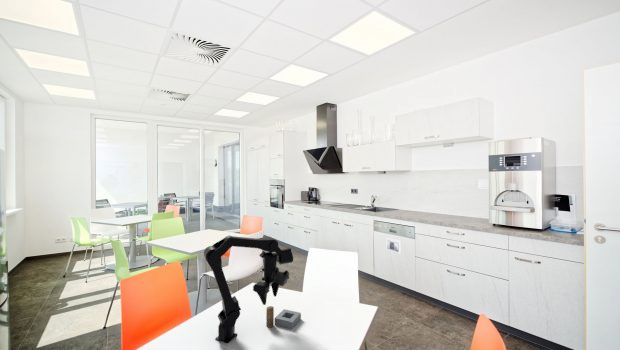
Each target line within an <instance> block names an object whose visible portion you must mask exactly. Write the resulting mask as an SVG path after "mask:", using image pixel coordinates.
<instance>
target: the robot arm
mask: <svg viewBox="0 0 620 350" xmlns="http://www.w3.org/2000/svg"><path fill="white" fill-rule="evenodd" d="M233 247H236V248H251V249H258V250H262V252H261V253H259V255H258V256H259V257H260V258H261V259H263V268H261V271H262V272H263V277H261V281H258V282H257V283H255V284H253V286H252V290H253V292H255V293H257V295H258V297H259V299H260V301H261V303H262V305H263V306H266V304H267V298H268V297H267V296H268V293H269V292H270V291H271V290H270V288H271V289H272V294H273V297H277V294H278V292H279V288H280V287H284V286H285V284H287V282H288V280H289V279H290V272H289V271H288V270H284V271H280V268H279V267H278V266H277V263H278V265H285V264H292V263H293V262H294V256H293V252H292V248H290V247H287V248H280V246H279V242H278V240H276V239H274V238H273V237H272V236H266V237H265V236H264V237H258V238H253V237H244V236H233V235H226V236H225V237H224V238H221V239H220V240H219V241H217V242H215V243H213V244H212V245H209V246H207V247H206V248H204V251H203V257H204V259H205V260H206V262H207V264H208V265H209V267H210V269H211V271H212V273H213V276H214V279H215V282H216V284H217V288H218V291H219V294H220V297H221V304H222V310H221V311H219V313H218V314H217V318H218V320H219V324H218V330H217V331H218V336H216V337H215V338H214V339H215V341H218V342H222V343H224V344H229V343H230V342H231V341H232V340H234V339H235V338H236V337H237V336H238V333H236V332H235V330H236V327H235V325H236V323H237V320H238V319H239V317H240V315H241V310H242V308H241V307H240V302H239V300H238V299H237V297H236V295H234V296H232V293H231V291H230V290H231V289H230V288H229V285H228V282H227V279H226V276H225V273H224V270H223V266H222V263H223V260H222V257H223V256H224V255H225V254H226V253H227V252H228V251H229V250H230V249H231V248H233Z"/></svg>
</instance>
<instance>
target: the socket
mask: <svg viewBox="0 0 620 350" xmlns="http://www.w3.org/2000/svg"><path fill="white" fill-rule="evenodd" d="M301 320H302V313H301V312H297V311H294V310H289V309H285V308H284V309H282V310H281V311H280V312H279V313H278V314H277V315H276V316H274V326H278V327H283V328H287V329H291V330H293V329H294V328H295V326H296V325H297V324H298V323H299V322H300V321H301Z"/></svg>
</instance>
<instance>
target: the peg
mask: <svg viewBox="0 0 620 350" xmlns="http://www.w3.org/2000/svg"><path fill="white" fill-rule="evenodd" d="M274 309H275V308H274V306H273V305H271V306H267V307H266V311H265V312H266V316H265V317H266V318H265V320H266V327H267V328H270V329H271V328H273V327H274V326H275V316H274V315H275V313H274V312H275V310H274Z"/></svg>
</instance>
